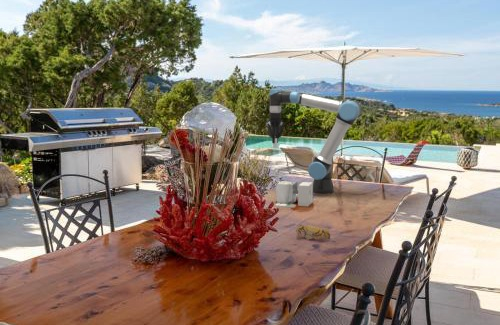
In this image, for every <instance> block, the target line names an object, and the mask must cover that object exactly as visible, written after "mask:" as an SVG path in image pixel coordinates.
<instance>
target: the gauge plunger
mask: <svg viewBox="0 0 500 325" xmlns="http://www.w3.org/2000/svg"><path fill="white" fill-rule="evenodd" d="M296 194H297V195H298V181H293V182H292V183H291V184H290V185H289V203H288V205H289V204H296V202H297V201H296Z"/></svg>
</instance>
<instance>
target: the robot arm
mask: <svg viewBox="0 0 500 325" xmlns="http://www.w3.org/2000/svg"><path fill="white" fill-rule="evenodd" d="M282 104H296V105H297V104H298V105H302V106H306V107H311V108H313V109H314V108H316V109H319V110H324V111H327V112H333V113H337V114H336V116H335V123H334V125H333V127H332V129H331V130H330V133H329V135H328V136H327V138H326V141H325V142H324V144H323V146H322V148H321V150H320V152H319V154H316V155H315V156H314V158H313V160H312V162H311V163H310V164H309V165H308V168H307V172H308V175H309V176H310V178H312V179H313V181H312V182H313V193H318V194H319V193H320V194H329V193H334V192H335V187H334V185H333V181H332V180H333V179H332V177H333V176H332V175H333V174H332V172H333V171H332V168H333V166H332V165H333V158H334V156H335V154H336V152H337V150H338V148H339V146H340V144H341V143H342V141H343V139H344V137H345V135H346V133H347V131H348V129H349V128H350V127H352V126H353V125H354V124H355V121H356V120H357V118H359V116H360V115H361V114H362V106H361V105H360V103H359V102H357V101H355V100H344V99H342V100H336V99H330V98H327V97H323V96H322V97H321V96H316V95H311V94H307V93H303V92H300V91H282V89H281V88H270V89H269V121H268V122H266V123H265V126H266V127H267V133H268V137H269V138H270V139H271V143H272V145H273V146H272V148H273V149H278V144H279V138H281V137H282V133H283V129H284V126H285V123H284V122H282V113H281V112H282Z"/></svg>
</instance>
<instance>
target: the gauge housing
mask: <svg viewBox="0 0 500 325" xmlns="http://www.w3.org/2000/svg"><path fill="white" fill-rule="evenodd" d="M297 190H298V193H297V205H296V203H293V204H289V205H288V204H280V203H277V202H276V204H275V205H274V206H275V207H276V208H288V209H294V208H295V207H297V206H299V207H309V206H310V205H311V204H312V203H313V193H314V192H313V181H311V182H310V181H302V182H300V184H297ZM275 207H274V208H275Z"/></svg>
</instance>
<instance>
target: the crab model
mask: <svg viewBox="0 0 500 325" xmlns="http://www.w3.org/2000/svg"><path fill="white" fill-rule="evenodd" d="M295 232H296V234H297V235H298V236H300V237H303V238H305V240H306V241H310V240H312V239H313V240H321V238H323V237H324V236H325V238H324V240H323V242H326V241H327V240H328V239H331V234H330V231H329V229H326V228H325V229H321V227H318V226H313V225H303V224H299V225H298V226H297V228H296V229H295ZM302 233H304V234H305V235H303V234H302Z"/></svg>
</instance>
